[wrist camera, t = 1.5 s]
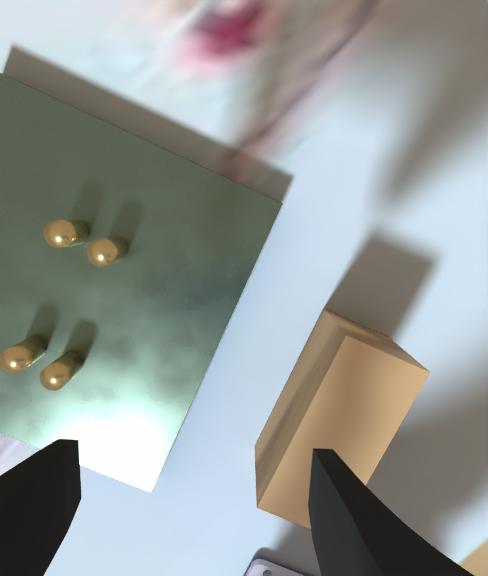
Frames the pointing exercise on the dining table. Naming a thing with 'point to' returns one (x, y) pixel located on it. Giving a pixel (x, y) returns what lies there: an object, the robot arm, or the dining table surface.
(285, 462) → the oak block
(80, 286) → the green slab
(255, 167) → the dining table surface
